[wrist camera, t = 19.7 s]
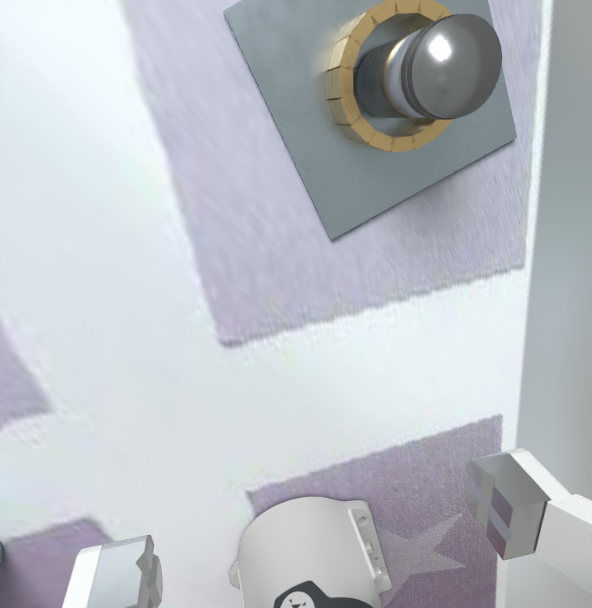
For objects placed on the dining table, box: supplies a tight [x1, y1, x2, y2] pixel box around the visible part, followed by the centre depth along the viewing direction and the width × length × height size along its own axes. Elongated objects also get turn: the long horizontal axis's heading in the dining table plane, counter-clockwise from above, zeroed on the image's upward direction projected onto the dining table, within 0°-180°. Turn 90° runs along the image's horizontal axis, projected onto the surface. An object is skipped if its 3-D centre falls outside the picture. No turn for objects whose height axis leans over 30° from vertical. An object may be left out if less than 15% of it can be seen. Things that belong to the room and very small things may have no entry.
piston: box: [357, 14, 502, 120], centre depth 28 cm, size 5×5×10 cm
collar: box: [224, 0, 517, 240], centre depth 31 cm, size 18×18×4 cm
